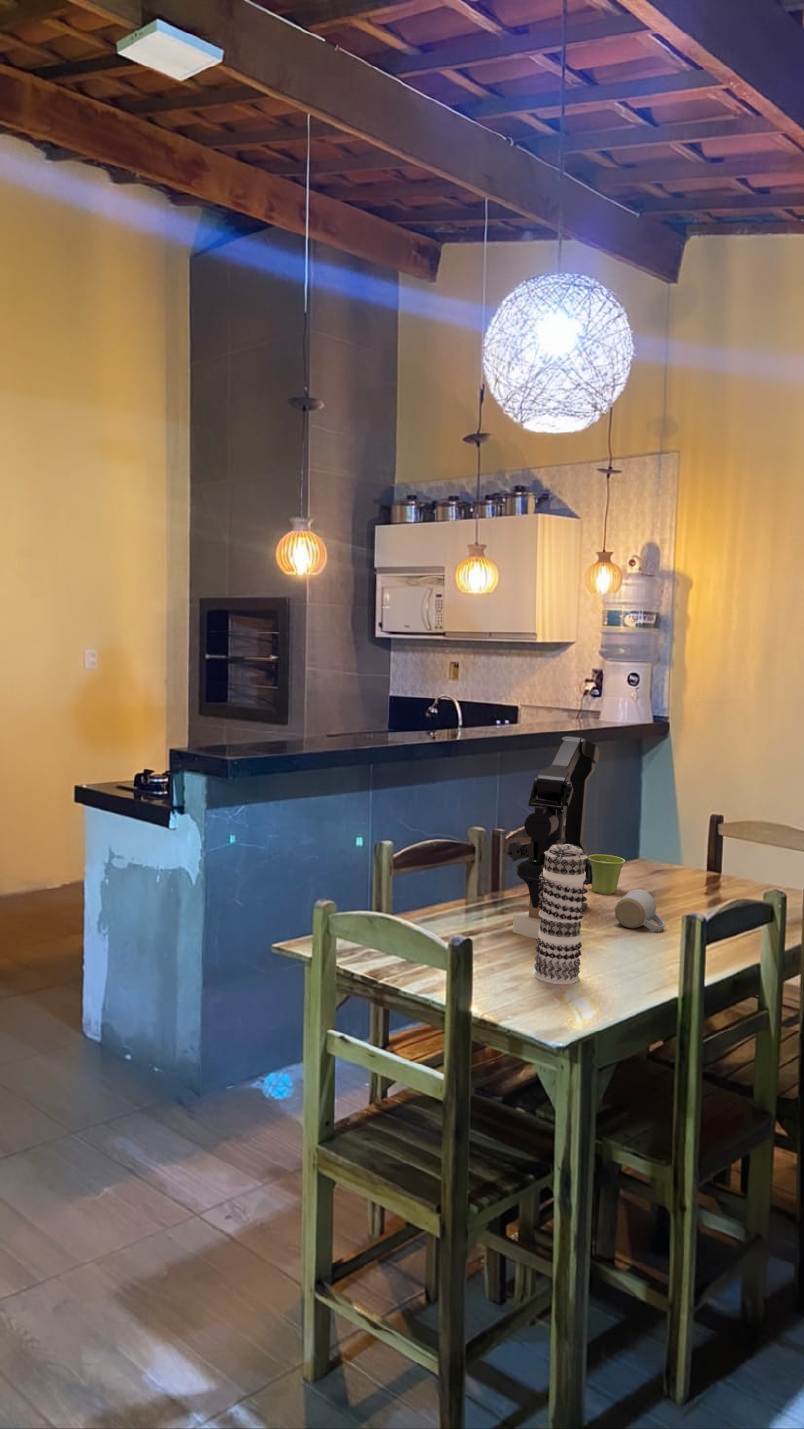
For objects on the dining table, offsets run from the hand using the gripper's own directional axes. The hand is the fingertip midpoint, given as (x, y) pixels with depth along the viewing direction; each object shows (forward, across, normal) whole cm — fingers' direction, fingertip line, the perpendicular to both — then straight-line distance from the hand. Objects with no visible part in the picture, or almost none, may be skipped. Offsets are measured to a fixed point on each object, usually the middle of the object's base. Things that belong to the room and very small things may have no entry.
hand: (544, 903), depth 221 cm
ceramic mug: (+7, -21, +15) cm, 27 cm away
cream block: (+7, 0, 0) cm, 7 cm away
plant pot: (+7, -46, -3) cm, 47 cm away
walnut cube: (+3, 0, 0) cm, 3 cm away
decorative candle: (+7, +25, +14) cm, 29 cm away
